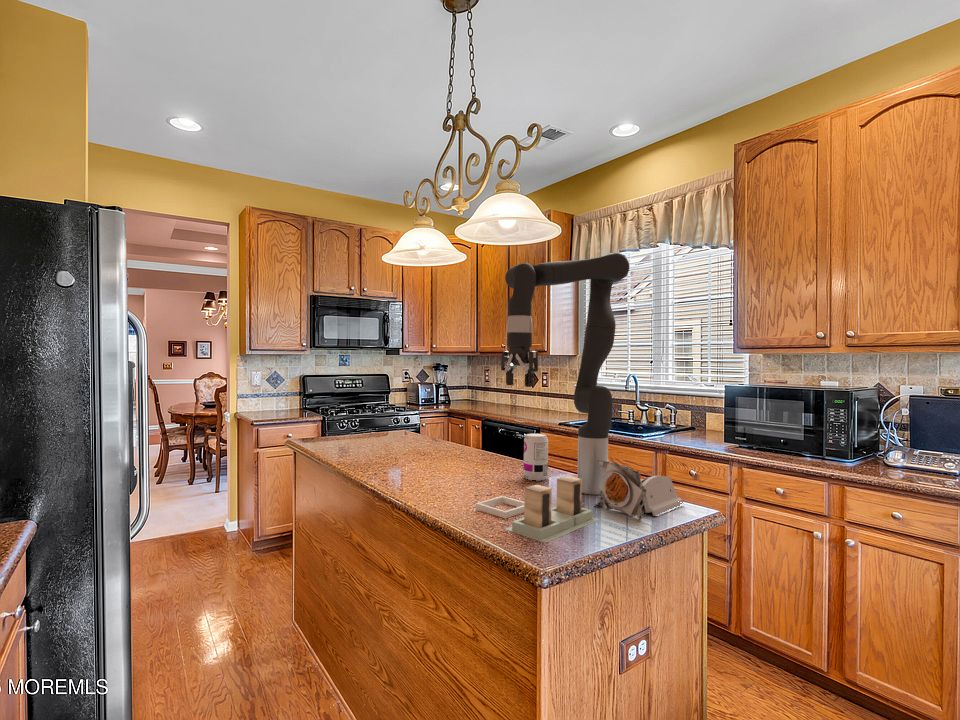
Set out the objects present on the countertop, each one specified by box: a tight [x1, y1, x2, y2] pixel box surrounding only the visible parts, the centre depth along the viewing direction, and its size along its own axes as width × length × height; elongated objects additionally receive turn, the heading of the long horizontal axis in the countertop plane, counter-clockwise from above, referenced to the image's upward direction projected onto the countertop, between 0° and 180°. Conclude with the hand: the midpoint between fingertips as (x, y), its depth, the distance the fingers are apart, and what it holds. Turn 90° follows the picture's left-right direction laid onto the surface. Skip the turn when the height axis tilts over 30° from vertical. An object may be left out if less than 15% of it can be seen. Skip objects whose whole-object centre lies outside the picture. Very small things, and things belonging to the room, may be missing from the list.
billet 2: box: [556, 475, 583, 516], centre depth 128 cm, size 4×5×10 cm
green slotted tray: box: [504, 505, 601, 544], centre depth 123 cm, size 23×12×3 cm, turn 136°
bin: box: [475, 495, 525, 519], centre depth 134 cm, size 11×11×2 cm
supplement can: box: [522, 432, 549, 482], centre depth 173 cm, size 8×8×15 cm
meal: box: [593, 460, 646, 521], centre depth 136 cm, size 15×4×13 cm, turn 35°
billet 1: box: [523, 484, 553, 528], centre depth 118 cm, size 4×5×10 cm
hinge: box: [640, 475, 684, 517], centre depth 141 cm, size 17×5×10 cm, turn 132°
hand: (518, 386), depth 150 cm, fingers open, 8 cm apart
